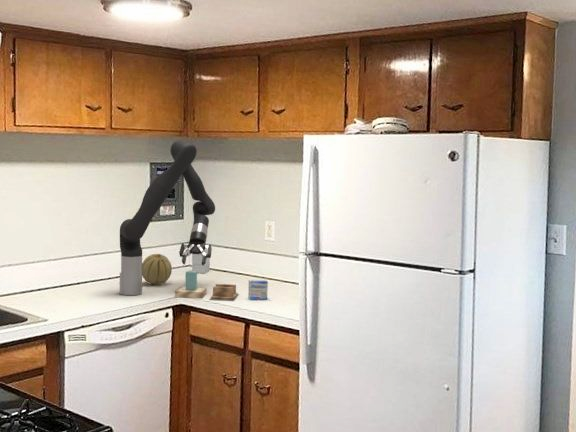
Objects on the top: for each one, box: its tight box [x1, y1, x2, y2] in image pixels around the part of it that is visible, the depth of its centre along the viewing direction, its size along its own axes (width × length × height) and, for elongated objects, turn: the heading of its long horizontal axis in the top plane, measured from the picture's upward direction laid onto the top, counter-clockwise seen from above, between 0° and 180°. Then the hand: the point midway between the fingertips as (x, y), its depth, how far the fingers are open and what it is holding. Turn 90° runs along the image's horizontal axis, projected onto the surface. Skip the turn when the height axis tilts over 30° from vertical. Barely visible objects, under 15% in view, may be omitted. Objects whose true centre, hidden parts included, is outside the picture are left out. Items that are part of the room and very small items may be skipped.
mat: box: [208, 293, 240, 302], centre depth 337 cm, size 11×16×1 cm
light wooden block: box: [174, 286, 208, 299], centre depth 338 cm, size 12×10×3 cm
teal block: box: [184, 270, 198, 290], centre depth 338 cm, size 4×3×8 cm, turn 85°
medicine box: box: [248, 279, 269, 301], centre depth 335 cm, size 8×4×9 cm, turn 101°
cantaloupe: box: [142, 253, 173, 286], centre depth 363 cm, size 15×15×15 cm
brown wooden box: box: [210, 283, 239, 300], centre depth 337 cm, size 10×12×5 cm
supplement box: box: [191, 249, 211, 274], centre depth 400 cm, size 7×7×13 cm
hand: (193, 263), depth 341 cm, fingers open, 8 cm apart
